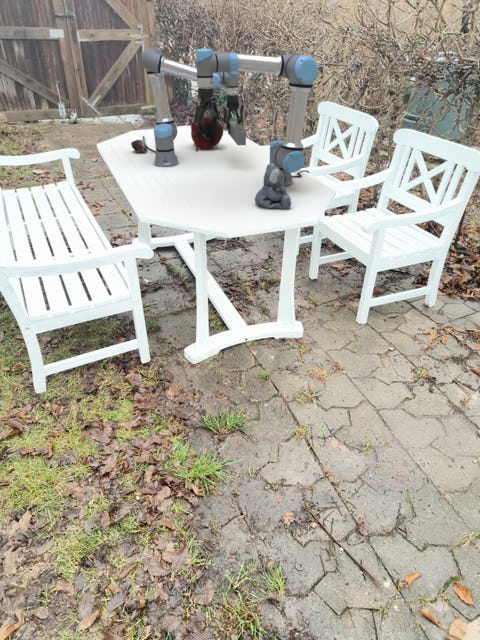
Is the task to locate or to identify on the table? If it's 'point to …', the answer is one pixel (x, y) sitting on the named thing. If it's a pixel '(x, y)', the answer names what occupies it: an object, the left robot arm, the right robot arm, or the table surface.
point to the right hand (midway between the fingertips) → (207, 136)
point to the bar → (237, 133)
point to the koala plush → (273, 190)
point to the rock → (138, 146)
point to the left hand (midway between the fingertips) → (233, 133)
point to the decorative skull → (206, 134)
